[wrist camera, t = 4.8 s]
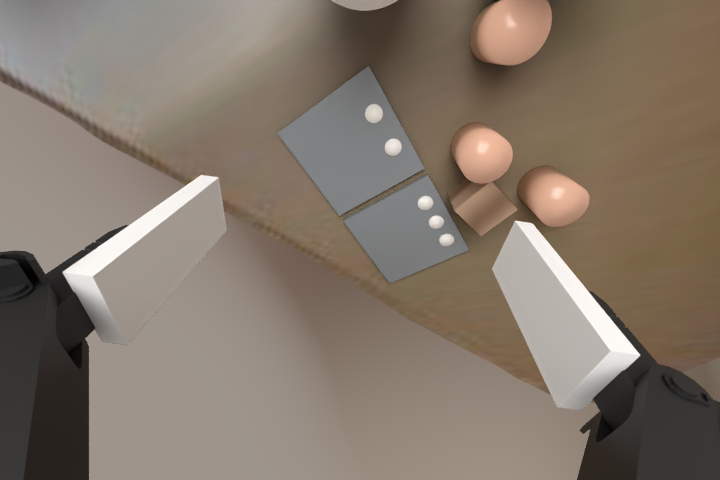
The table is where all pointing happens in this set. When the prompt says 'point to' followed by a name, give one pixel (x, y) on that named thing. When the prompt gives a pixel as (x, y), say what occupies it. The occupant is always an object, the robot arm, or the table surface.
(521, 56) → the tan rounded block
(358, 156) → the pad two
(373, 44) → the table surface
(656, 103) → the table surface
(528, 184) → the pink rounded piece
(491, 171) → the pink rounded piece
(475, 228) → the walnut block
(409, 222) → the pad three
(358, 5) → the jar
